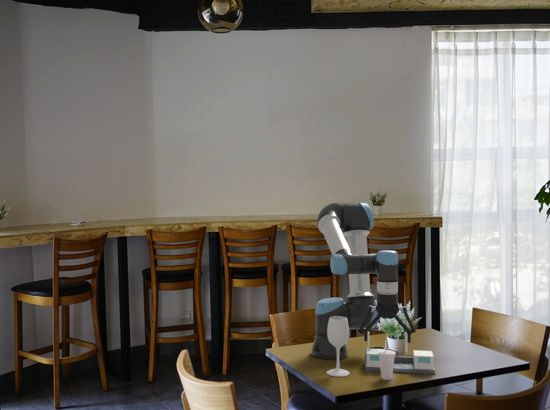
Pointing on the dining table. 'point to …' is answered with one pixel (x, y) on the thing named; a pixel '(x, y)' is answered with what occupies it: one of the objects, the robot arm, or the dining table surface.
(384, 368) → the smoothie
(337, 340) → the wineglass
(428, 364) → the mounted modules
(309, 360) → the dining table surface
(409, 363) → the rail plate
